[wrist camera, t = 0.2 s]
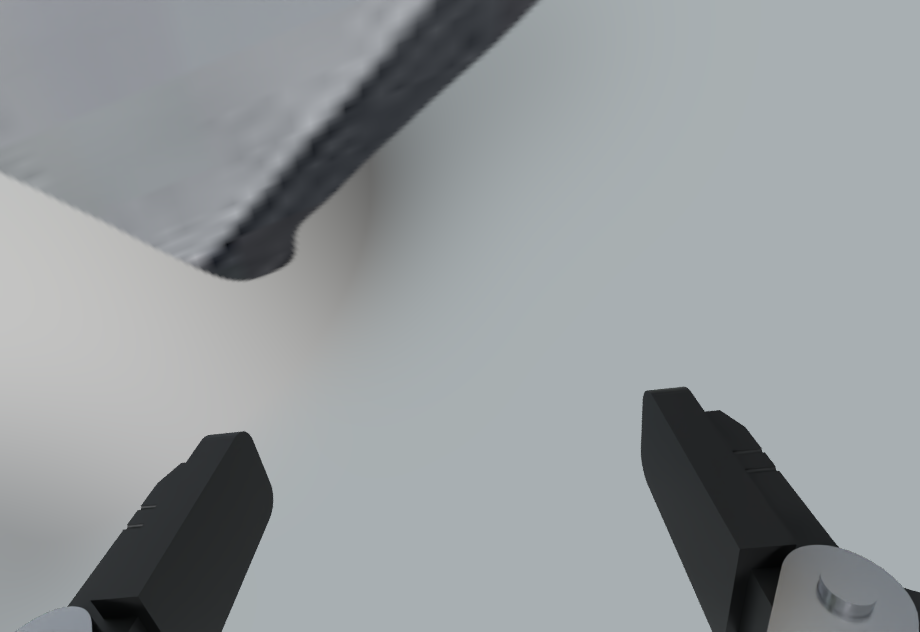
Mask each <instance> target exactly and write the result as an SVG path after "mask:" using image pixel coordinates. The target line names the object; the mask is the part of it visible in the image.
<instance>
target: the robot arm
mask: <svg viewBox="0 0 920 632" xmlns="http://www.w3.org/2000/svg"><path fill="white" fill-rule="evenodd" d="M641 459H642V466H643V471H644V475H645V478H646V481H647V484H648V486H649V488H650V491H651V493H652V495H653V498H654V500H655V502H656V504H657V507H658V509H659V511H660V513H661V516H662V518H663V520H664V523H665V525H666V527H667V529H668V532H669V534H670V536H671V539H672V540H673V543H674V545H675V547H676V550H677V552H678V554H679V557H680V559H681V561H682V564H683V565H684V568H685V570H686V573H687V575H688V577H689V579H690V582H691V584H692V586H693V589H694V591H695V593H696V596H697V598H698V600H699V602H700V605H701V607H702V609H703V611H704V614H705V616H706V618H707V620H708V623H709V625H710V627H711V630H712V632H920V592H916V591H912V590H909V589H906V588H903V587H902V585H901V584H900V583H898V582H897V581H896V579H895V578H894V577H893V576H891V575H890V574H889V573H887V572H886V571H885V570H884V569H882V568H881V567H880V566H878V565H876V564H875V563H873V562H872V561H870V560H868V559H866V558H864V557H862V556H860V555H858V554H856V553H853V552H851V551H848V550H845V549H842V548H839V547H838V546H837V545H836V543H835V542H834V541H833V540H832V539H831V537H830V536H829V535H828V533H827V532H826V531H825V529H824V528H823V527H822V526H821V524H820V523H819V522H818V521H817V519H816V518H815V517H814V515H813V514H812V513H811V511H810V510H809V509H808V508H807V506H806V505H805V504H804V502H803V501H802V500H801V499H800V497H799V496H798V495H797V493H796V492H795V491H794V489H793V488H792V487H791V486H790V484H789V483H788V482H787V480H786V479H785V478H784V477H783V475H782V474H781V473H780V471H776V468H775V465H774V464H773V462H772V461H771V460H770V459H769V457H768V456H767V455H766V453H763V452H762V450H761V447H760V446H759V444H758V443H757V442H756V441H755V439H754V438H753V437H752V435H751V434H750V433H749V431H748V430H747V429H746V428H745V427H744V426H743V425H741V424H740V423H738V422H737V421H735V420H734V419H732V418H730V417H729V416H728V415H726V414H725V413H723V412H722V411H720V410H717V411H707V412H704V410H703V408H702V407H701V406H700V404H699V403H698V401H697V400H696V398H695V397H694V396H693V394H692V393H691V391H690V390H689V389H688V388H686V387H678V388H669V389H658V390H649V391H645V393H644V396H643V411H642V437H641ZM272 508H273V492H272V487H271V484H270V481H269V479H268V476H267V474H266V471H265V469H264V466H263V464H262V462H261V459H260V457H259V454H258V452H257V449H256V447H255V444H254V442H253V440H252V437H251V436H250V435H249V434H248V433H247V432H244V431H243V432H234V433H225V434H214V435H208V436H206V437H204V438H203V439H202V441H201V442H200V443H199V445H198V446H197V448H196V449H195V450H194V452H193V454H192V455H191V456H190V458H189V459H188V461H187V462H186V463H181V464H180V465H178V466H177V467H176V468H175V469H174V470H173V471H171V472H170V473H169V474H168V475H167V476H166V477H164V478H163V479H162V480H161V481H160V482H158V483H157V485H156V486H155V487H154V489H153V490H152V491H151V493H150V494H149V496H148V497H147V498H146V500H145V501H144V502H143V504H142V505H141V510H138V511H137V512H136V513H135V515H134V516H133V518H132V519H131V520H130V522H129V523H128V524H127V525H128V528H127V529H126V530H123V532H122V533H121V534H120V535H119V537H118V538H117V540H116V541H115V542H114V544H113V545H112V546H111V548H110V549H109V550H108V552H107V553H106V555H105V556H104V557H103V559H102V560H101V561H100V563H99V564H98V566H97V567H96V568H95V570H94V571H93V573H92V574H91V575H90V577H89V578H88V579H87V581H86V582H85V584H84V585H83V586H82V588H81V589H80V590H79V592H78V593H77V594H76V596H75V597H74V599H73V600H72V601H71V603H70V604H69V605H68V606H67V607H63V608H59V609H55V610H52V611H50V612H47V613H45V614H43V615H41V616H39V617H37V618H35V619H34V620H32V621H30V622H28V623H27V624H25V625H24V626H23V627H21V628H20V629H18V630H17V631H15V632H222V629H223V627H224V624H225V622H226V619H227V617H228V615H229V613H230V610H231V608H232V606H233V603H234V601H235V599H236V596H237V594H238V592H239V589H240V587H241V585H242V582H243V580H244V578H245V575H246V573H247V570H248V568H249V566H250V564H251V561H252V559H253V556H254V554H255V552H256V549H257V547H258V545H259V542H260V540H261V538H262V535H263V533H264V531H265V528H266V526H267V523H268V521H269V519H270V516H271V512H272Z"/></svg>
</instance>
